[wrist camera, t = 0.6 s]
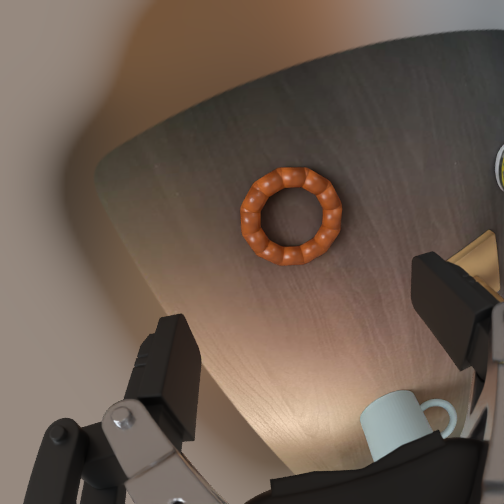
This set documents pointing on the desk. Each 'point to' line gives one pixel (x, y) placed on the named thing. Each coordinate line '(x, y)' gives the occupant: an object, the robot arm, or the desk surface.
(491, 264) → the stand
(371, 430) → the mug
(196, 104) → the desk surface
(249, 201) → the ring
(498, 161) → the pill bottle
